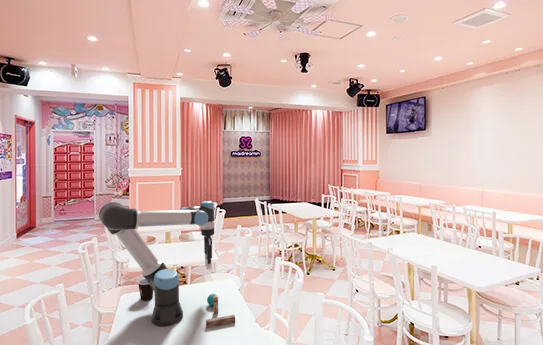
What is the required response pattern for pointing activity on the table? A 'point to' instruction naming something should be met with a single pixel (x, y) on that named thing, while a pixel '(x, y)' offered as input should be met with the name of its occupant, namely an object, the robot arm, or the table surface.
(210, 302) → the ball
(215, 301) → the pin
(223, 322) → the back wall
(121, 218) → the robot arm
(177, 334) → the table surface
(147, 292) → the coffee mug
